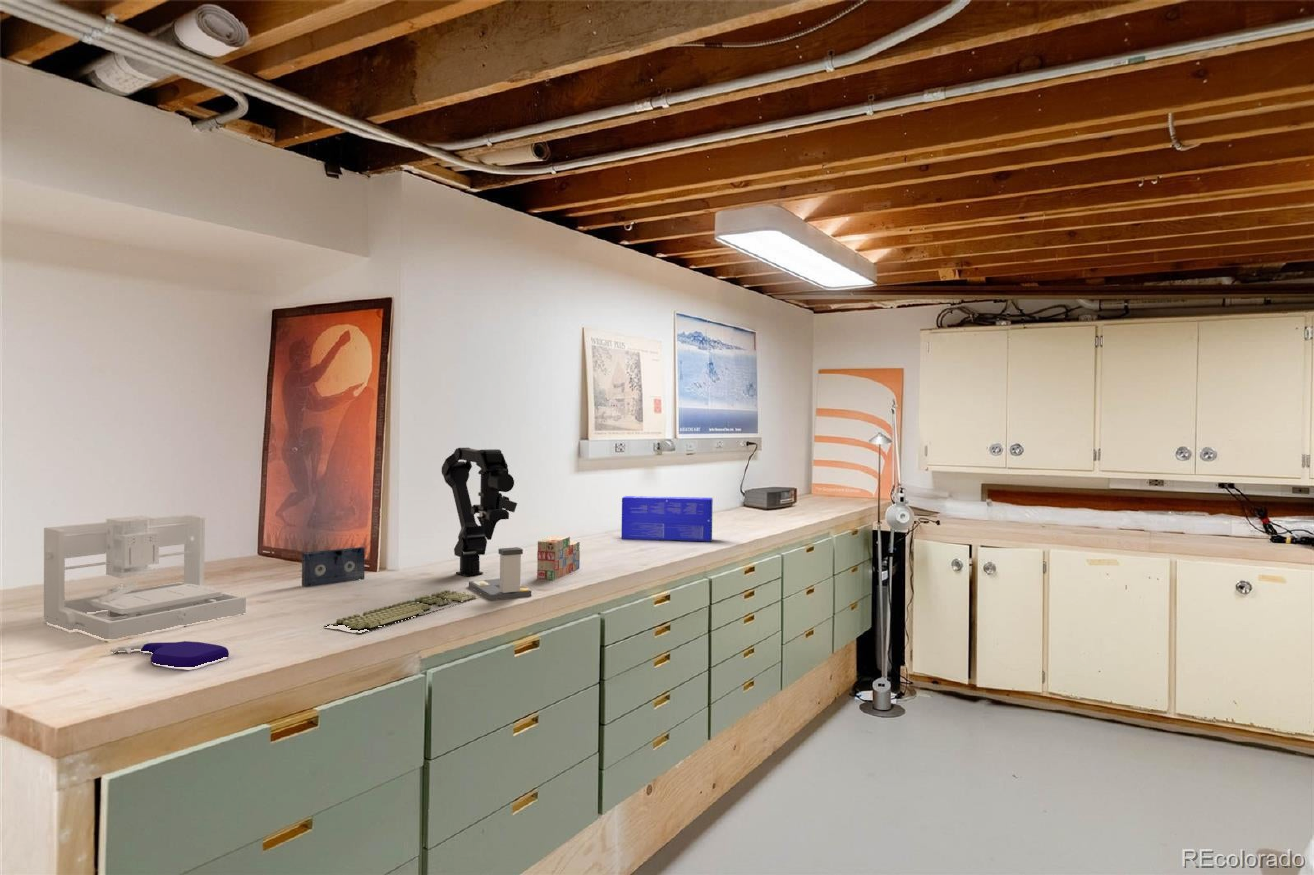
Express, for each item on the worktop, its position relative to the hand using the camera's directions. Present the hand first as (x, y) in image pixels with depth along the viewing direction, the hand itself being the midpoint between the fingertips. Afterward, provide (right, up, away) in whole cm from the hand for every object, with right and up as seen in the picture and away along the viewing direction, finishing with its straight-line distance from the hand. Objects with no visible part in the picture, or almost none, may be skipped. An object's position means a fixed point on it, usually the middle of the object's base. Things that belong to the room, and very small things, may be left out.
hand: (489, 539), depth 242 cm
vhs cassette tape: (-46, -13, -6) cm, 48 cm away
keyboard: (-13, -15, -38) cm, 43 cm away
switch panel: (+6, -13, -13) cm, 20 cm away
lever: (+10, -12, -21) cm, 26 cm away
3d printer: (-73, -13, -51) cm, 90 cm away
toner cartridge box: (+57, -13, +93) cm, 110 cm away
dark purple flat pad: (-49, -15, -81) cm, 95 cm away
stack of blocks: (+20, -14, +15) cm, 28 cm away
